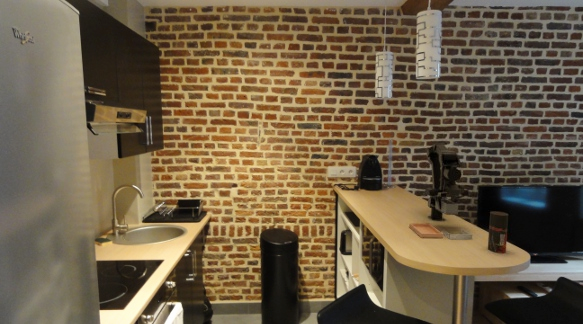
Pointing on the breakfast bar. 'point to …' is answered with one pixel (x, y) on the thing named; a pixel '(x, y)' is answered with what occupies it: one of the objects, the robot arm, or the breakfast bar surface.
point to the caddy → (448, 207)
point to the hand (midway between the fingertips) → (445, 209)
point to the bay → (457, 235)
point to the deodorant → (498, 232)
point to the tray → (425, 230)
